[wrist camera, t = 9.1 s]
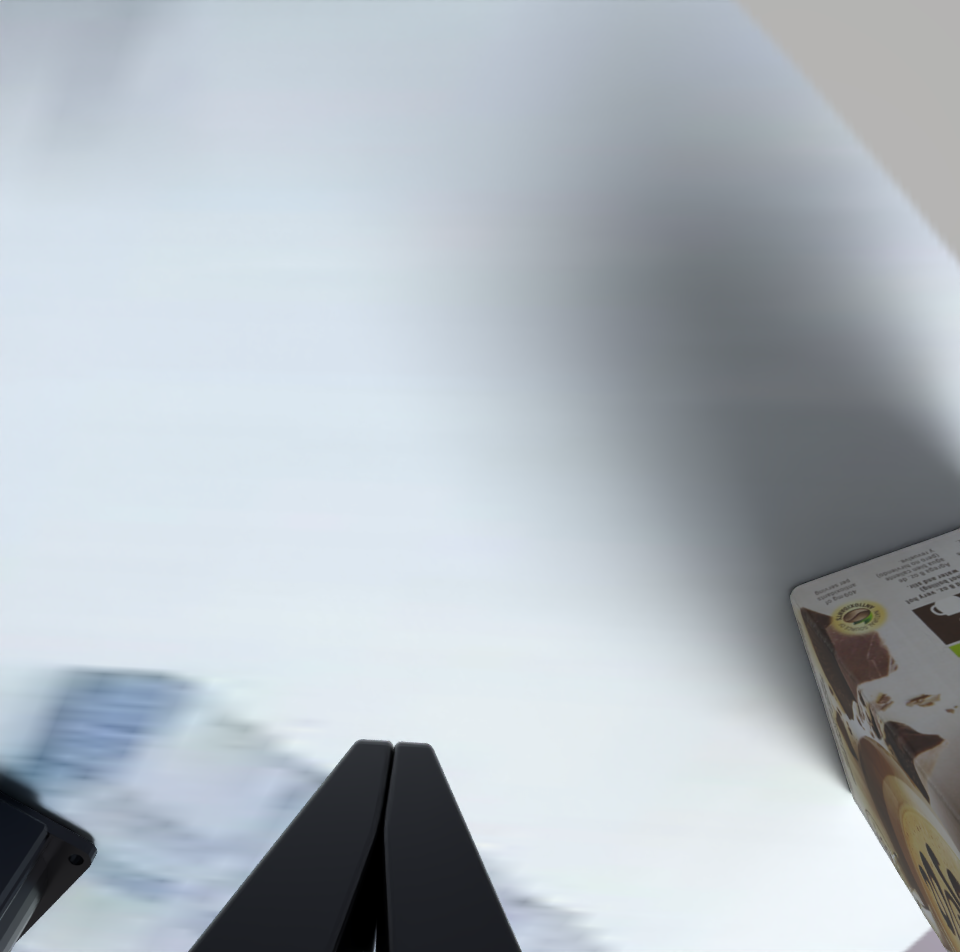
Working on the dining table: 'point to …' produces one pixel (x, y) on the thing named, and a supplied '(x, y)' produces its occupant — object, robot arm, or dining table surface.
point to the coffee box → (897, 707)
